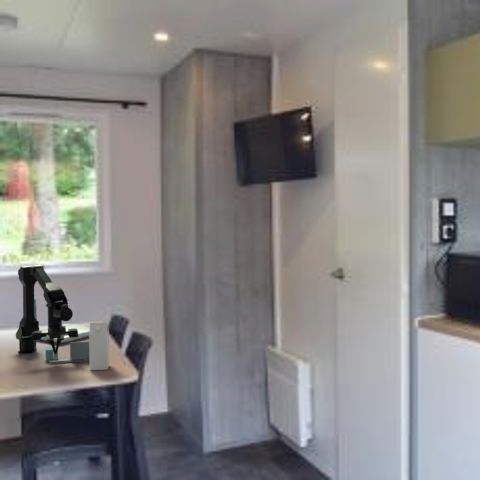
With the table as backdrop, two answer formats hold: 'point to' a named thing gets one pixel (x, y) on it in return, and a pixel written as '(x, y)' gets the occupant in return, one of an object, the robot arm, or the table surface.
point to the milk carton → (99, 346)
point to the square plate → (82, 333)
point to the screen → (79, 349)
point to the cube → (51, 354)
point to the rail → (67, 360)
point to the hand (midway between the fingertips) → (55, 354)
